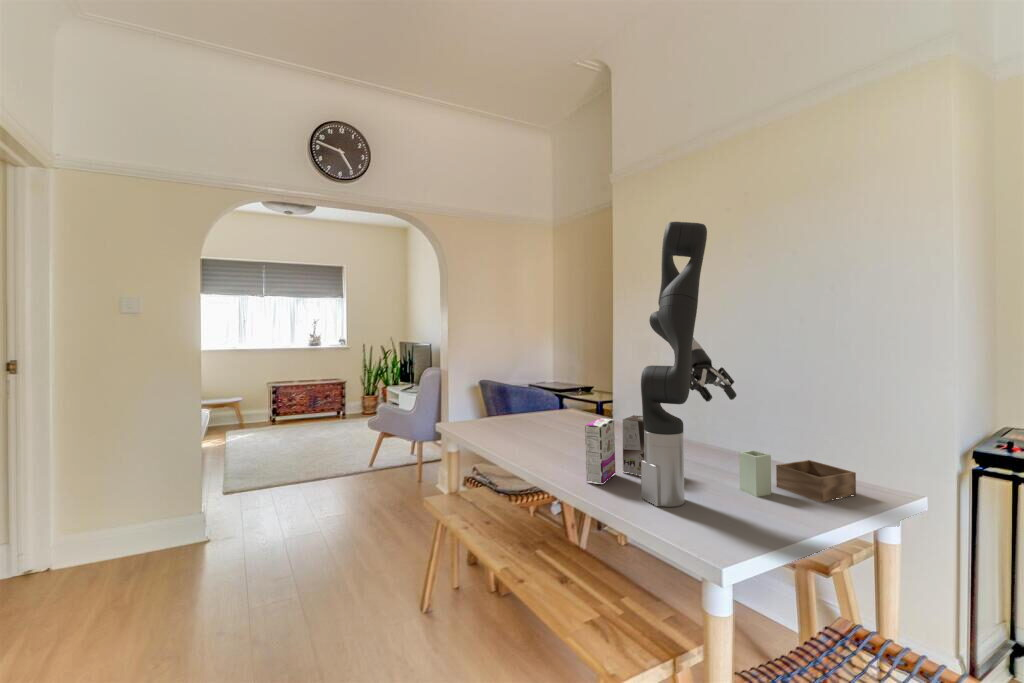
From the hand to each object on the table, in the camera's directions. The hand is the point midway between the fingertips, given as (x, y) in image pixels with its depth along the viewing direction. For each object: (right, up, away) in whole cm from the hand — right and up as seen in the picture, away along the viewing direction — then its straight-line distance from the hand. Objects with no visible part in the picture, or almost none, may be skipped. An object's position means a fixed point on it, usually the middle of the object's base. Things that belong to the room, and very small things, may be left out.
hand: (722, 398), depth 122 cm
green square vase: (+4, -23, -10) cm, 25 cm away
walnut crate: (+19, -22, -10) cm, 31 cm away
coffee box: (-21, -23, +9) cm, 32 cm away
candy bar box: (-33, -23, +3) cm, 41 cm away
